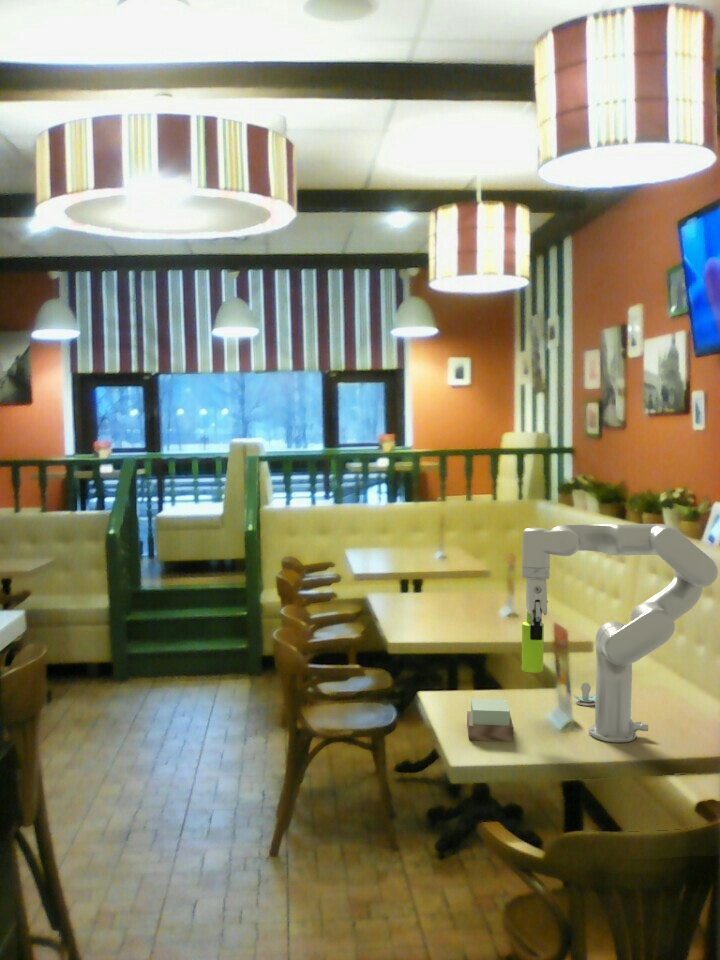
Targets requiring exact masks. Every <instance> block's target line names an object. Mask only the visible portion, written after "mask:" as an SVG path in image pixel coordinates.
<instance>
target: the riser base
mask: <svg viewBox="0 0 720 960" xmlns="http://www.w3.org/2000/svg"><path fill="white" fill-rule="evenodd" d="M466 711H467V710H466ZM466 713H467V716H466V717H467V718H466V721H467V722H466V727H467V734H468V740H469V741H487V742H488V741H489V742H492V741H493V742H511V743H512V742H514V724H513V720H512V717H511V715H510V726H501V725H474V724H473V723H472V716H471V710H468V711H467V712H466Z"/></svg>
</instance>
